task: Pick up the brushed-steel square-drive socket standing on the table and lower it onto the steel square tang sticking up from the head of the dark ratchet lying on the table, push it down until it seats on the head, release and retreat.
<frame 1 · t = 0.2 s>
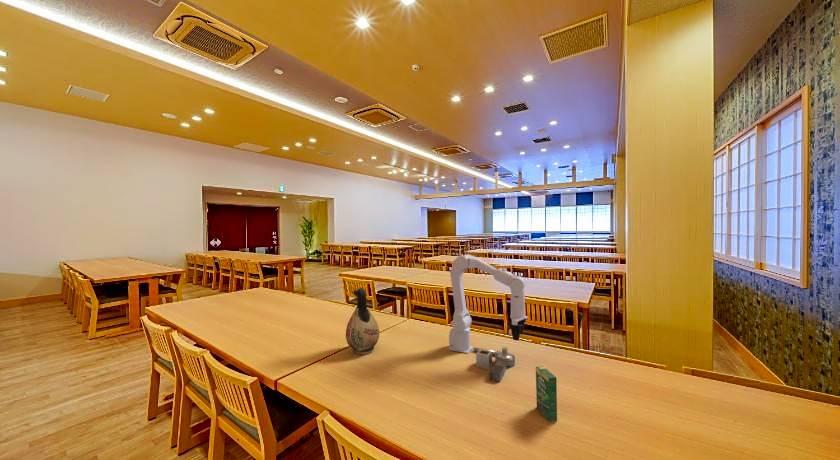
hand: (517, 337, 131), 10 cm above the table, fingers open, 7 cm apart
ratchet: (505, 363, 129), on the table
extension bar: (485, 353, 139), on the table
ceramic jug: (363, 351, 142), on the table
socket: (484, 365, 127), on the table
coffee box: (546, 414, 94), on the table
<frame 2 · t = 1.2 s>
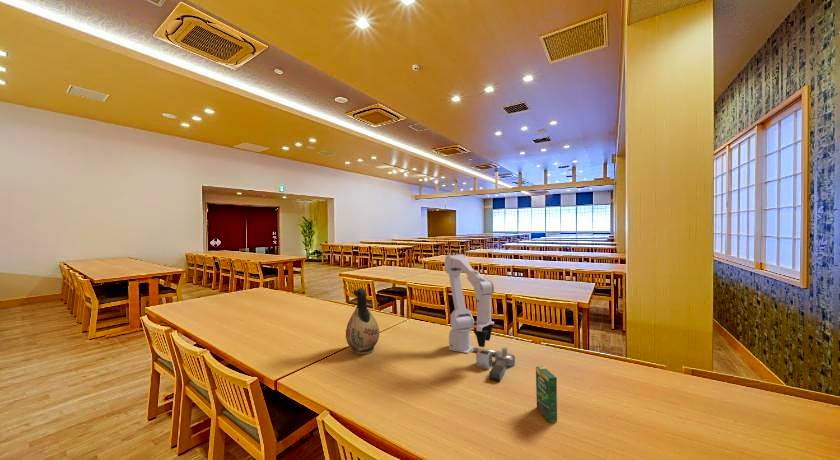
hand: (484, 343, 126), 9 cm above the table, fingers open, 7 cm apart
nothing on the table moved.
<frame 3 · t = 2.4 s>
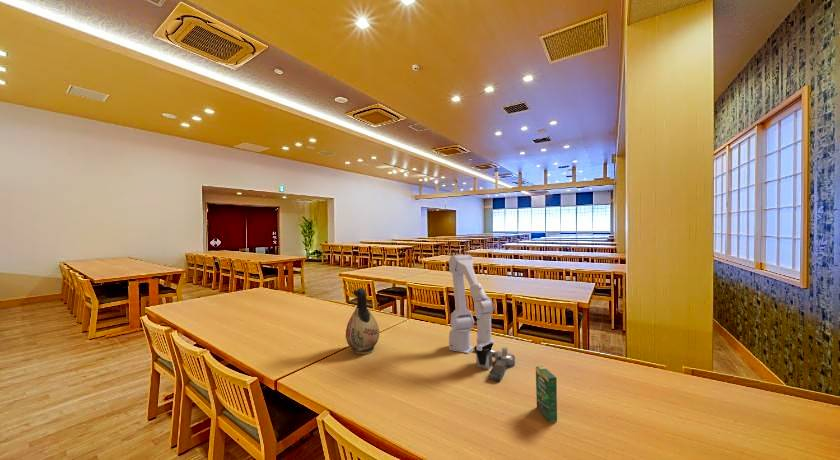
hand: (484, 361, 127), 2 cm above the table, fingers closed on socket, 5 cm apart
socket: (484, 365, 127), on the table, touching gripper
everything else where it was.
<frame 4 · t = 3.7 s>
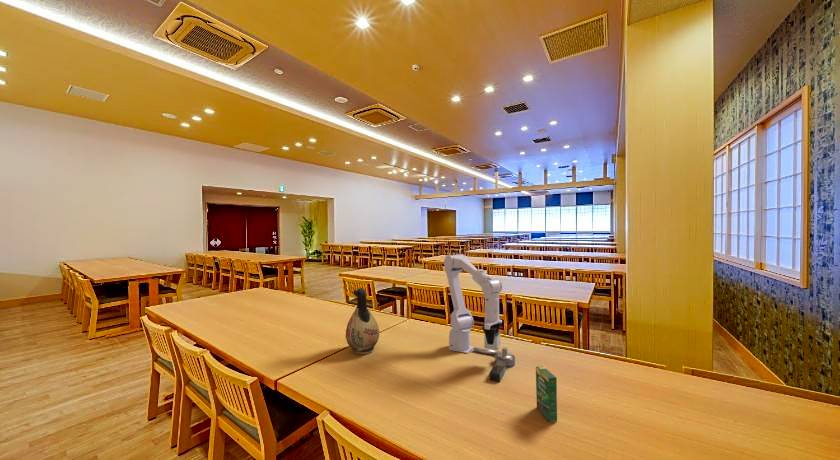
hand: (492, 341, 127), 10 cm above the table, fingers closed on socket, 5 cm apart
socket: (492, 347, 127), point 7 cm above the table, touching gripper
everything else where it was.
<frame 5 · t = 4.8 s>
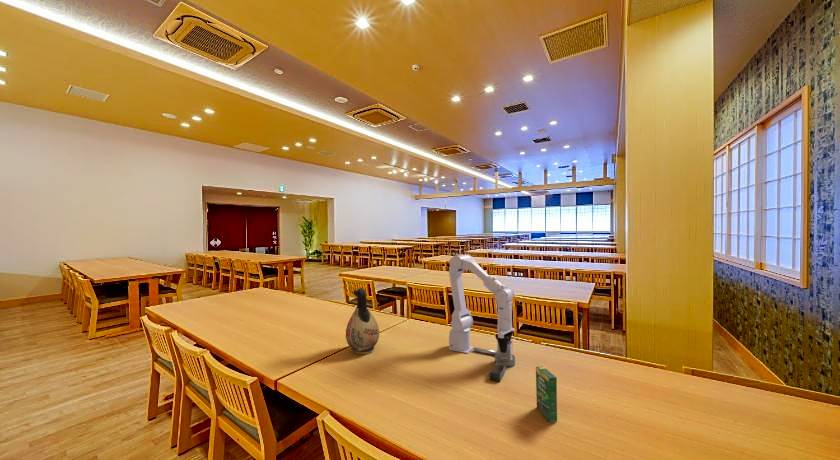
hand: (504, 349, 128), 6 cm above the table, fingers closed on socket, 5 cm apart
socket: (505, 355, 128), point 3 cm above the table, touching gripper
everything else where it was.
when the fingers open (6 cm above the table, at t = 5.3 s): socket stays where it is, resting on ratchet.
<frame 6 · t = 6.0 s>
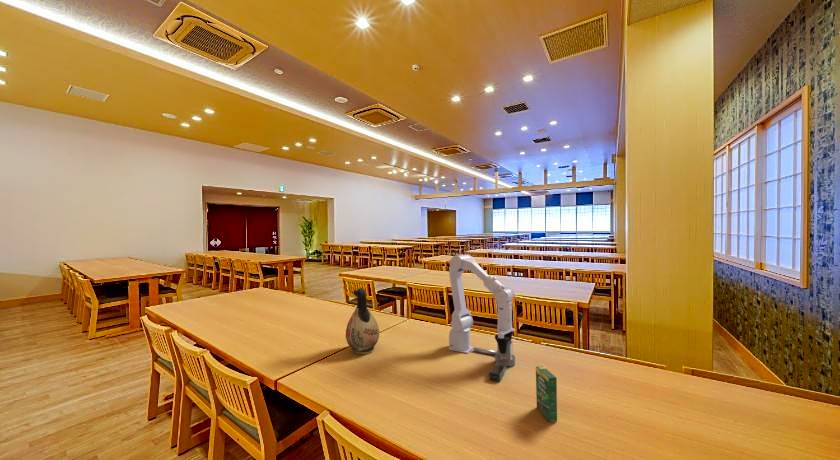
hand: (504, 349, 128), 6 cm above the table, fingers open, 7 cm apart
ratchet: (505, 363, 129), on the table, touching socket
socket: (505, 355, 128), point 3 cm above the table, touching ratchet
everything else where it was.
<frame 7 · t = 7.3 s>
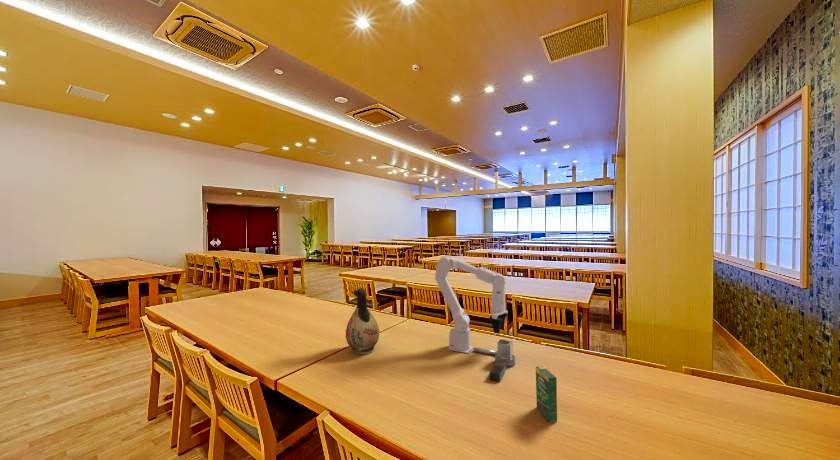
hand: (498, 330, 140), 10 cm above the table, fingers open, 7 cm apart
nothing on the table moved.
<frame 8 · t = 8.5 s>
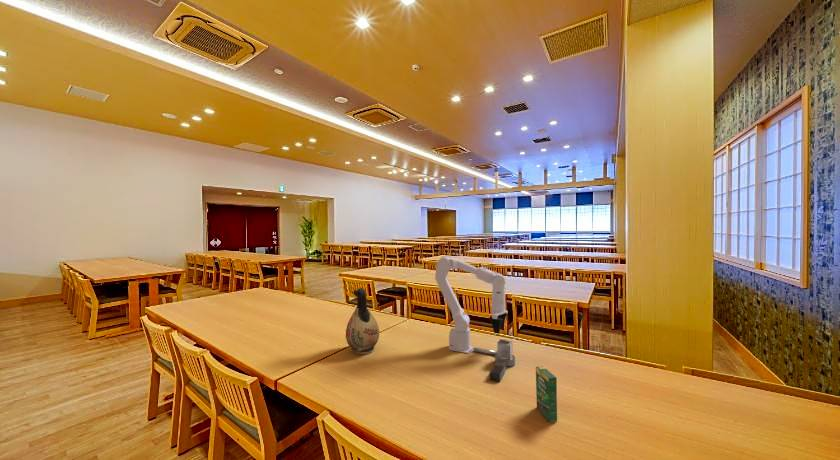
hand: (498, 330, 140), 10 cm above the table, fingers open, 7 cm apart
ratchet: (505, 363, 129), on the table
socket: (505, 355, 128), point 3 cm above the table
everything else where it was.
at the end: socket 0.1 cm from the ratchet (horizontally); socket point 3.3 cm above the table; the gripper is holding nothing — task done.
